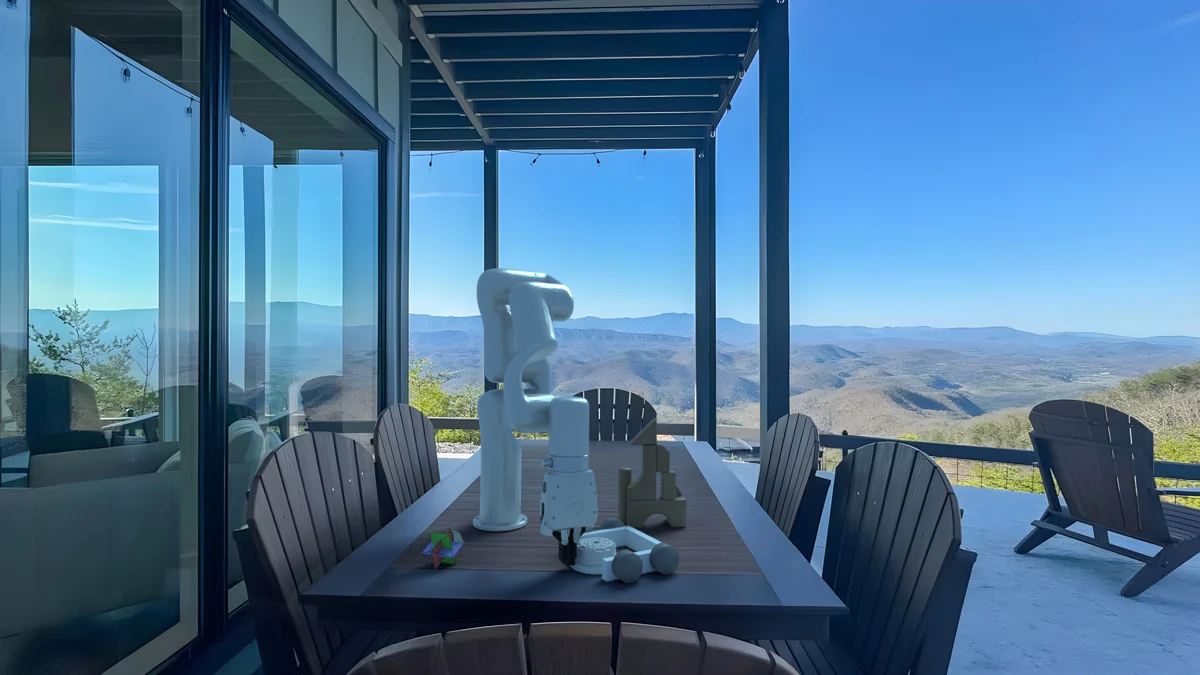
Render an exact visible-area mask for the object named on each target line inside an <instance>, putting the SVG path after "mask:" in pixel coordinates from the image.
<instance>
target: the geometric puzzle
mask: <svg viewBox="0 0 1200 675" xmlns="http://www.w3.org/2000/svg"><path fill="white" fill-rule="evenodd" d="M437 531H439V529H438V530H437V529H436V532H435V531H432V532H431V531H429V532H428V533H429V535H430V536H429V538H428V537H427V538H426V540H428V539H429V544H428V545H426V543H427V542H425V544H424V545H426V547H424V549H423V550H422V551H421V553H420V555H422V556H425V557H426V558H425V559H426V561H428V559H427V558H429V559H431V560H432V561H433V562H432V563H433V565H431V566H432V567H434V570H437V569H438V570H439V569H441V566H443V565H445V564H450V565H457V561H458V559H459V558H457V560H456V558H455V557H456V555H457V554H458V552H459V550H461V549H462V548H461V547H463V546H464V544H465V541H464V540H463V537H462V535H461V533H460V532H459V531H457V530H455V529H453V528H452V527H449V528H445V531H444V532H446V533H444V532H440V533H439V532H437ZM460 554H461V553H459V554H458V556H460ZM429 555H430V556H431V557H430V556H429ZM441 563H443V564H441ZM440 564H441V565H440ZM439 565H440V566H439ZM446 567H448V566H447V565H446V566H445V568H446Z"/></svg>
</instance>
